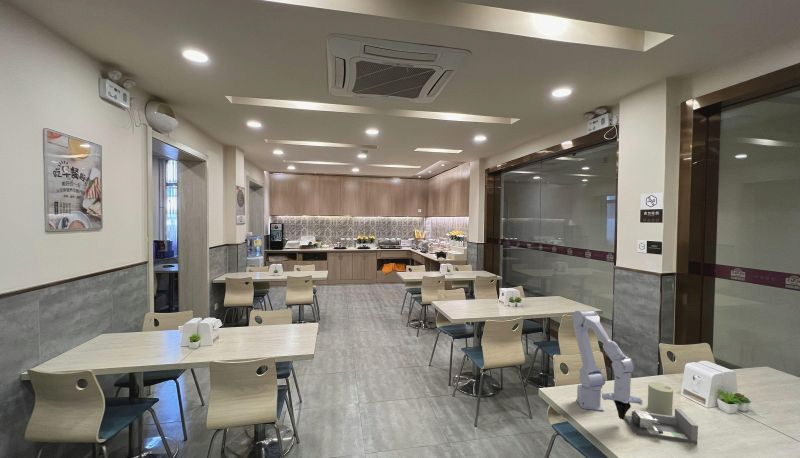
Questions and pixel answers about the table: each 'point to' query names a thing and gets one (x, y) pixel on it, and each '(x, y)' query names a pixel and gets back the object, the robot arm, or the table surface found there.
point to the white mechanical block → (644, 420)
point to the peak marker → (659, 430)
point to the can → (660, 399)
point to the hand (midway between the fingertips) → (621, 417)
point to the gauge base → (669, 427)
